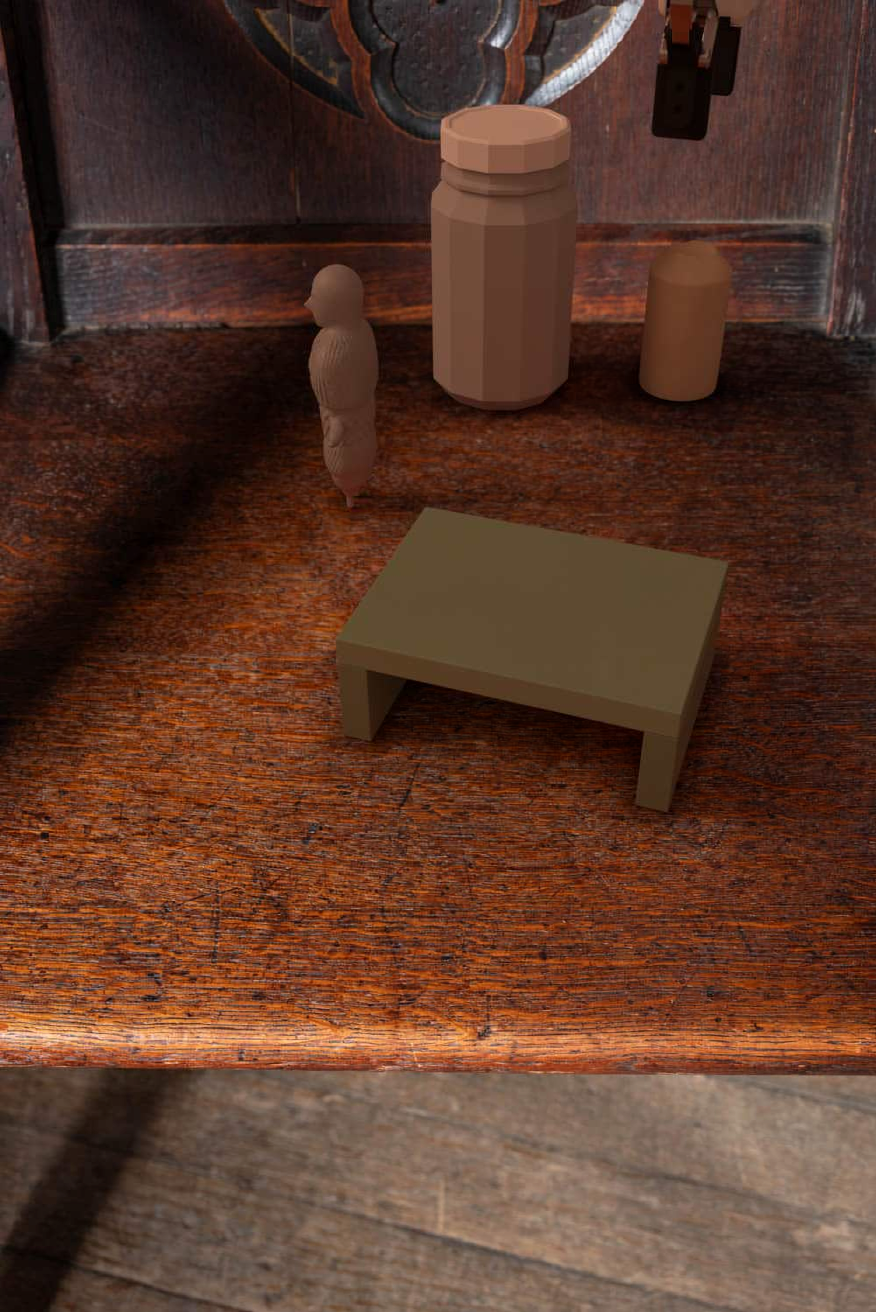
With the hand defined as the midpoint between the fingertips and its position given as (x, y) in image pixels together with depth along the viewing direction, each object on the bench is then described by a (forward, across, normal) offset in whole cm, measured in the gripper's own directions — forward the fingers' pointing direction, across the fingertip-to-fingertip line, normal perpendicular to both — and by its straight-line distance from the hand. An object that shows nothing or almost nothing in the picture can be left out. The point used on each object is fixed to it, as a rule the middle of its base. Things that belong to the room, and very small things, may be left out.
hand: (693, 114), depth 78 cm
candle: (+19, +1, -1) cm, 19 cm away
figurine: (+19, -21, +15) cm, 32 cm away
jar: (+19, -3, +11) cm, 22 cm away
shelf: (+19, -35, -1) cm, 40 cm away
